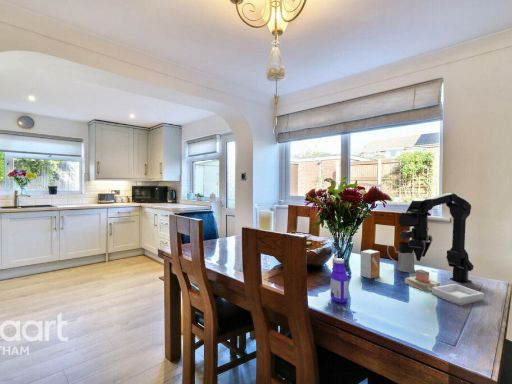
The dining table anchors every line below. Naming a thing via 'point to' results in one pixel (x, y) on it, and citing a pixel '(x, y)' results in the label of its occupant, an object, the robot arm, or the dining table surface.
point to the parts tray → (458, 294)
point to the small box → (370, 263)
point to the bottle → (339, 281)
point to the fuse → (422, 276)
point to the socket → (421, 283)
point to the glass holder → (405, 257)
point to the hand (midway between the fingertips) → (420, 258)
